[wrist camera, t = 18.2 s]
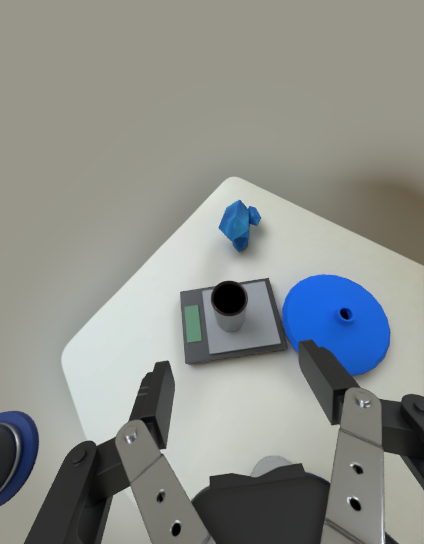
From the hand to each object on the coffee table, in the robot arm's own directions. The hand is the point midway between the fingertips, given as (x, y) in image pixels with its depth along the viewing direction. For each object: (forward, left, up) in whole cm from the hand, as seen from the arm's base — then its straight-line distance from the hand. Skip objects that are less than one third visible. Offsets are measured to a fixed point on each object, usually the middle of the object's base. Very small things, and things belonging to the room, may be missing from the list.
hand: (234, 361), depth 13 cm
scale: (+1, +8, -24) cm, 25 cm away
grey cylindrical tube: (+1, +8, -21) cm, 22 cm away
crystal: (+6, +25, -24) cm, 35 cm away
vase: (+17, +5, -24) cm, 30 cm away
